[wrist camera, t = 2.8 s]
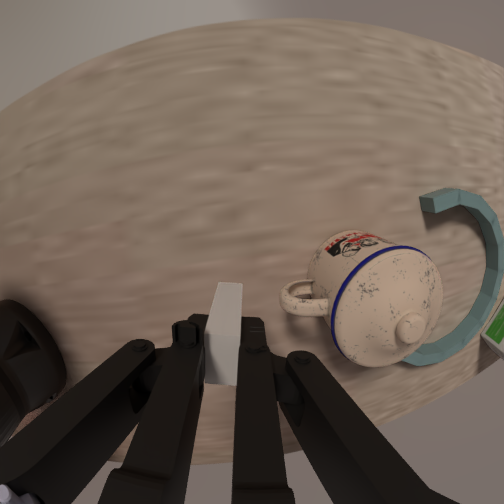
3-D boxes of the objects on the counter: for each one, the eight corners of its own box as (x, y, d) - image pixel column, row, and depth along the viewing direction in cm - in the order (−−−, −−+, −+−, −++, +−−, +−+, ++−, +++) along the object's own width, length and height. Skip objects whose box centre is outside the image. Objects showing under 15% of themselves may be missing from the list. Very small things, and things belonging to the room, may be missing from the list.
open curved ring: (384, 359, 28) (393, 370, 25) (420, 181, 23) (434, 182, 21) (468, 345, 29) (477, 353, 26) (501, 205, 24) (513, 207, 22)
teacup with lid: (394, 227, 24) (477, 255, 13) (383, 313, 26) (445, 375, 15) (272, 227, 24) (300, 262, 13) (271, 322, 26) (290, 407, 15)
